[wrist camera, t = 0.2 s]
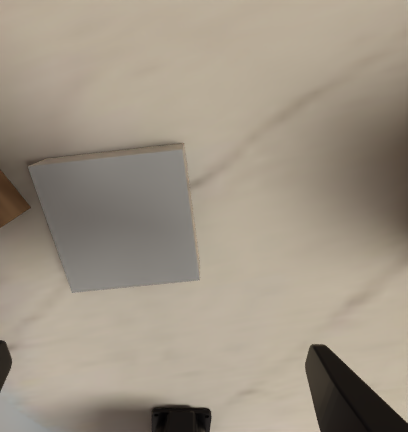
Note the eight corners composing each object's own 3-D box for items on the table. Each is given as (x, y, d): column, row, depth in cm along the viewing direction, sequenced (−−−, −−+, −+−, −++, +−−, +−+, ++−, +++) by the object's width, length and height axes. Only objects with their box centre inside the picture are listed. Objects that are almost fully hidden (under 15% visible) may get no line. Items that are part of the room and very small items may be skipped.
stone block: (199, 259, 25) (199, 280, 22) (86, 270, 25) (72, 292, 22) (184, 142, 21) (182, 149, 18) (50, 157, 21) (27, 166, 18)
